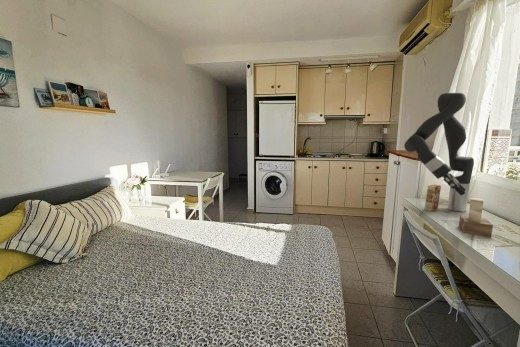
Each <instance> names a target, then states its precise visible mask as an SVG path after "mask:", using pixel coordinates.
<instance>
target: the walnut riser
mask: <svg viewBox="0 0 520 347" xmlns="http://www.w3.org/2000/svg"><path fill="white" fill-rule="evenodd" d="M468 217H469V215H467V216H466V215H459V221H458V228H459V229H460V230H461V232H462V233H463V234H466V233H468V235H473V236H482V237H487V238H488V237H489V238H492V234H493V230H494V224H492V222H490V221H489V220H488V219H487V218H483V217H481V222H477V221H471V220H468Z"/></svg>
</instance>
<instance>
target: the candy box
mask: <svg viewBox="0 0 520 347" xmlns="http://www.w3.org/2000/svg"><path fill="white" fill-rule="evenodd" d="M441 188H442V185H439V184H432V185H428V186H427V189H426V197H425V204H424V210H425V211H429V212H432V211H437V210H438V209H439V202H440V198H441V197H440V196H441Z"/></svg>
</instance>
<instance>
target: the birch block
mask: <svg viewBox="0 0 520 347" xmlns="http://www.w3.org/2000/svg"><path fill="white" fill-rule="evenodd" d="M469 202H470V203H469V210H468V220H471V221H477V222H481V218H482V213H483V208H484V206H483V205H484V199H482V198H476V197H475V198H474V197H470V201H469Z"/></svg>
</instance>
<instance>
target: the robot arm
mask: <svg viewBox="0 0 520 347" xmlns="http://www.w3.org/2000/svg"><path fill="white" fill-rule="evenodd" d="M466 101H467V97H466V95H465V93H463V92H445V93H442V94H440V95H439V97H438V98H437V108H438V111H439V112H438V113H436V114H434V115H432V116H430V117H429V118H427V119H426V120H425V121H423V122H422V123H421V125H419V127H418V128H417V130H415V132H414V133H413V134H412V135H410V136H409V138H408V139H407V140H406V141H405V142H404V144H403V146H404V147H403V148H404V150H405V151H407V152H410V153H414V152H416V154H417V159H418V160H419V162H421V163H422V164H423V165H424V167H426V169H427V170H428V171H429V172H430V173H431V174H432V175H433V176H434V177H435V178H436V179H441V178H443V181H444V182H445V183H446V184H447V185H448V186H449V194H448V198H447V199H448V201H447V206H446V207H447V210H450V211H454V212H461V213H462V212H464V213H465V212H467V206H468V199H469V192H470V187H471V185H470V183H471V180H472V175H473V170H474V166H475V160H474V158H473V157H472V156H465V155H464V156H463V155H461V156H459V154H458V153H459V149H460V148H461V147H462V146H463V145H464V144H465V143H466V142H465V141H466V140H467V133H466V129H465V128H466V127H465V126H464V125H463V124H462V122H461V121H460V120H459V118H457V117H456V116H455V114H457V113H458V112H460V110H462V109H463V108H464V106H465V104H466ZM441 125H443V129H444V135H445V136H444V137H445V139H446V144H447V151H448V161H449V162H448V163H447V162H446V161H444V160H443V159H442V158H440V157H439V156H437V154H436V153H435V152H434V151H432V149H431V148H430V146H429V145H428V143H427V141H426V140H427V139H429V138H430V137H431V136H432V135H433V134H434V133H435V131H436V130H437V129H438V128H439V127H441ZM451 171H454V172H460V173H461V172H462V174H461V175H458V176H457V175H456V176H455V175H453V174H452V173H451Z"/></svg>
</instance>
